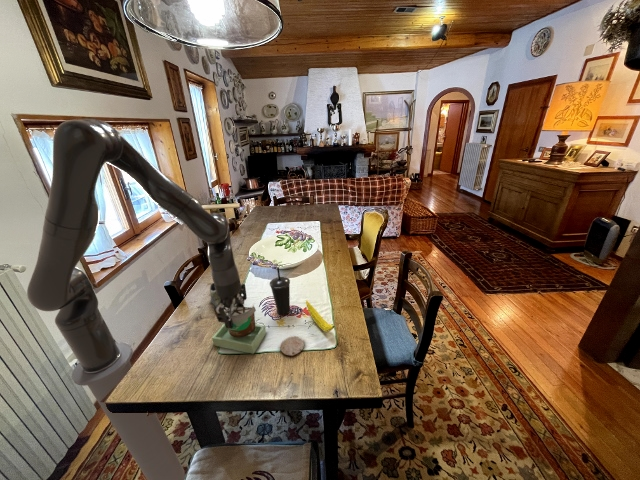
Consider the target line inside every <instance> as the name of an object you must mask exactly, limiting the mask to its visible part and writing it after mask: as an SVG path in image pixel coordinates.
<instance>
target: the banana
mask: <svg viewBox="0 0 640 480" xmlns="http://www.w3.org/2000/svg"><path fill="white" fill-rule="evenodd" d="M305 305H306V309H307V311H308V313H309V315H310V316H311V318H312V320H313V321H314V322H315V324H316V325H317V326H318V327H319V328H320V329H321V330H322V331H324V332H330V331H332V330H334V328H335V327H336V326H335V325H333V324H330V323H329V322H327V321H326V320H325V319H324V318H323V317H322V315H320V312H318V311H317V309H316V308H315V307H314V306H313V305H312V304H311V302H309V301H308V300H305Z"/></svg>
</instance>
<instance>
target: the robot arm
mask: <svg viewBox="0 0 640 480" xmlns="http://www.w3.org/2000/svg"><path fill="white" fill-rule="evenodd" d="M52 140H53V142H52V177H51V178H52V179H51V184H50V189H49V193H48V201H47V206H46V209H45V214H44V220H43V225H42V235H41V239H40V245H39V250H38V254H37V260H36V263H35V267H34V270H33V272H32V275H31V278H30V280H29V282H28V286H27V289H26V296H27V299H28V301H29V302H30V304H31V306H33V307H34V308H35V309H36V310H38V311H42V312H55V311H58V312H57V314H56V316H55V318H54V324H55V325H56V327H57V329H58V330H59V332H60V333H61V335H62V337H63V338H64V340H65V342H66V343H67V345H68V347H69V348H70V350H71V352H72V353H73V354H74V357H75V358H76V360H77V361H78V363H80V364H81V366H82V368H83V370H84V372H85V373H87V374H95V373H99V372H101V371H104V370H106V369H107V368H109V367H111V366H112V365H113V364H114V363H116V362H117V360H118V359H119V358H120V356H121V351H120V350H119V348H118V346H117V345H116V343H118V342H117V341H116V339H115V338H114V337H113V334H112V332H111V331H110V329H109V327H108V325H107V322H106V321H105V319H104V316H103V315H102V314H101V311H100V310H99V300H98V297H97V294H96V292H95V290H94V287H93V284H92V283H91V280H90V279H89V276H88V275H87V274H86V273H85V272H84V271H83V270H82V269H80V268H78V267H77V265H78V263H79V262H80V261H81V259H82V258H83V257H84V255H85V254H86V253H87V251H88V249H90V247H91V245H92V243H93V242H94V239H95V236H96V233H97V229H98V226H99V221H100V209H99V205H98V201H97V198H96V186H97V182H98V179H99V176H100V173H101V170H102V168H103V166H104V165H105V164H106V163H107V164H109V165H111V166H112V167H115V168H116V169H118V170H120V171H121V172H123V173H124V174H125V175H127V176H129V177H130V178H131V179H132V180H133V181H134V182H135V183H136V184H137V185H138V186H139V187H140V188H141V189H142V190H143V192H144V193H145V194H146V195H147V196H148V197H149V198H150V199H151V201H152V202H154V203H155V204H156V205H157V206H158V207H160V208H161V209H163V210H164V211H165V212H167V213H168V214H170V215H171V216H172V217H175V218H176V219H177V220H178V221H181V222H182V223H183V224H184V225H185V226H186V227H187V228H188V229H189V230H190V231H191V232H192V233H193V234H194V235H195V236H196V237H198V238H199V239H200V240H201V241H203V242H205V243H206V244H207V258H208V263H209V266H210V270H211V271H210V272H211V277H212V281H213V283H214V286H215V290H216V293H217V295H218V296H219V297H220V305H219V306H218V307H216V306H214V307H213V311H214V315H215V316H216V320H217V322H218V323H223V324H224V323H225V326H226V328H229V329H232V328H233V322H232V319H231V315H232V313H233V309H234V305H235V304H237V305H236V306H242V307H245V301H246V300H247V298H248V297H247V290H246V284H245V283H241V279H240V275H239V274H240V273H239V269H238V266H237V263H236V259H235V255H234V251H233V247H232V241H231V239H232V238H231V232H230V226H229V222H228V220H227V218H226V217H225V216H224V215H223V214H221V213H218V212H211V213H210V212H208V211H207V210H205V208H203V205H202V203H201V202H200V200H198V199H197V198H196V197H194V196H193V195H192V194H190V193H189V192H188V191H187V190H185V189H184V188H182V187H181V186H180V185H179V184H177V183H176V182H174V181H173V180H172V179H171V178H169V177H168V176H167V175H165V173H163V172H162V171H160V170H159V169H158V168H157V167H156V166H155V165H154V164H152V163H151V162H150V160H148V159H147V158H146V157H145V156H144V155H143V154H142V153H141V152H139V151H138V150H137V149H136V148H135V147H134V146H133V144H131V143H130V142H129V141H128V140H127V139H126V138H125V137H124V136H123V135H122V134H121V133H120V132H119V131H118V130H117V129H116V128H115V127H113V126H112V125H111V124H109V123H108V122H106V121H104V120H101V119H97V118H80V119H70V120H66V121H63V122H62V123H60V124H59V125H57V127H56V129H55V131H54V133H53V139H52ZM226 308H230V310H228V309H226ZM226 313H228V316H226Z"/></svg>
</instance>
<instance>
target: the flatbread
mask: <svg viewBox="0 0 640 480" xmlns="http://www.w3.org/2000/svg"><path fill="white" fill-rule="evenodd" d="M304 347H305V340H304V339H302V338H301V337H299V336H296V335H295V336H294V335H293V336H289V337H286V338H285V339H284V340H282V342H281V343H280V345H279V349H280V351H281V353H282V354H283V355H285V356H290V357H293V356H295V355H297V354H299V353H300V352H301V351H303V349H304Z"/></svg>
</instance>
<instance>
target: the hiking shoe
mask: <svg viewBox="0 0 640 480" xmlns="http://www.w3.org/2000/svg"><path fill="white" fill-rule="evenodd" d="M209 294H210V302H211V304H212V305H214V306H215V307H218V306H219V305H220V297H219V296H218V295H217V293H216V290H215V286H214V282H213V283H211V284H210V286H209ZM236 305H237V304H235V305H234V306H236Z"/></svg>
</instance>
